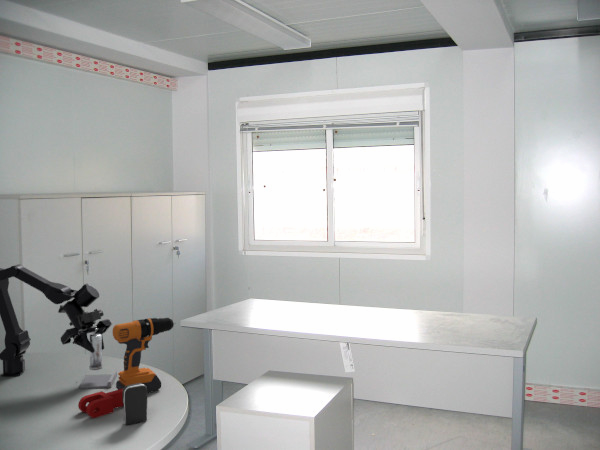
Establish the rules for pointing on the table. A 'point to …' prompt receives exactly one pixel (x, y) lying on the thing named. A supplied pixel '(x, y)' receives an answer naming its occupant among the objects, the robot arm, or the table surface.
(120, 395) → the mechanical linkage
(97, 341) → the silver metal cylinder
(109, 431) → the table surface
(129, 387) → the battery charger
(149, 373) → the power drill
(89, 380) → the bracket
